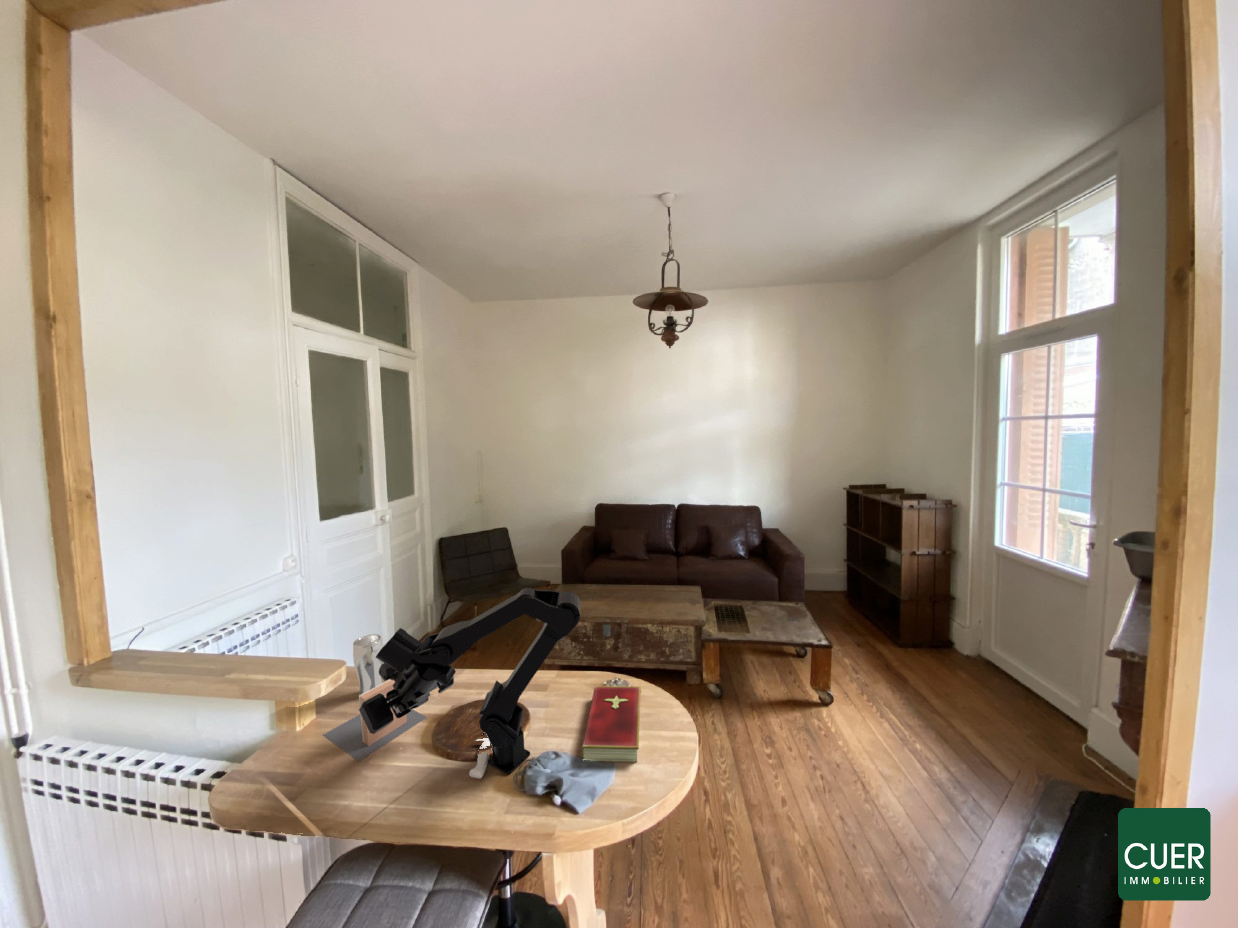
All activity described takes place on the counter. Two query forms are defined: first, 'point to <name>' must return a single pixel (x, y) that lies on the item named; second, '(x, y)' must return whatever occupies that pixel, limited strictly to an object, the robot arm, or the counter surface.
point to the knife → (481, 761)
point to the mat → (352, 739)
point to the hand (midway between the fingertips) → (396, 710)
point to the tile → (397, 722)
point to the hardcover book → (613, 725)
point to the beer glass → (367, 661)
